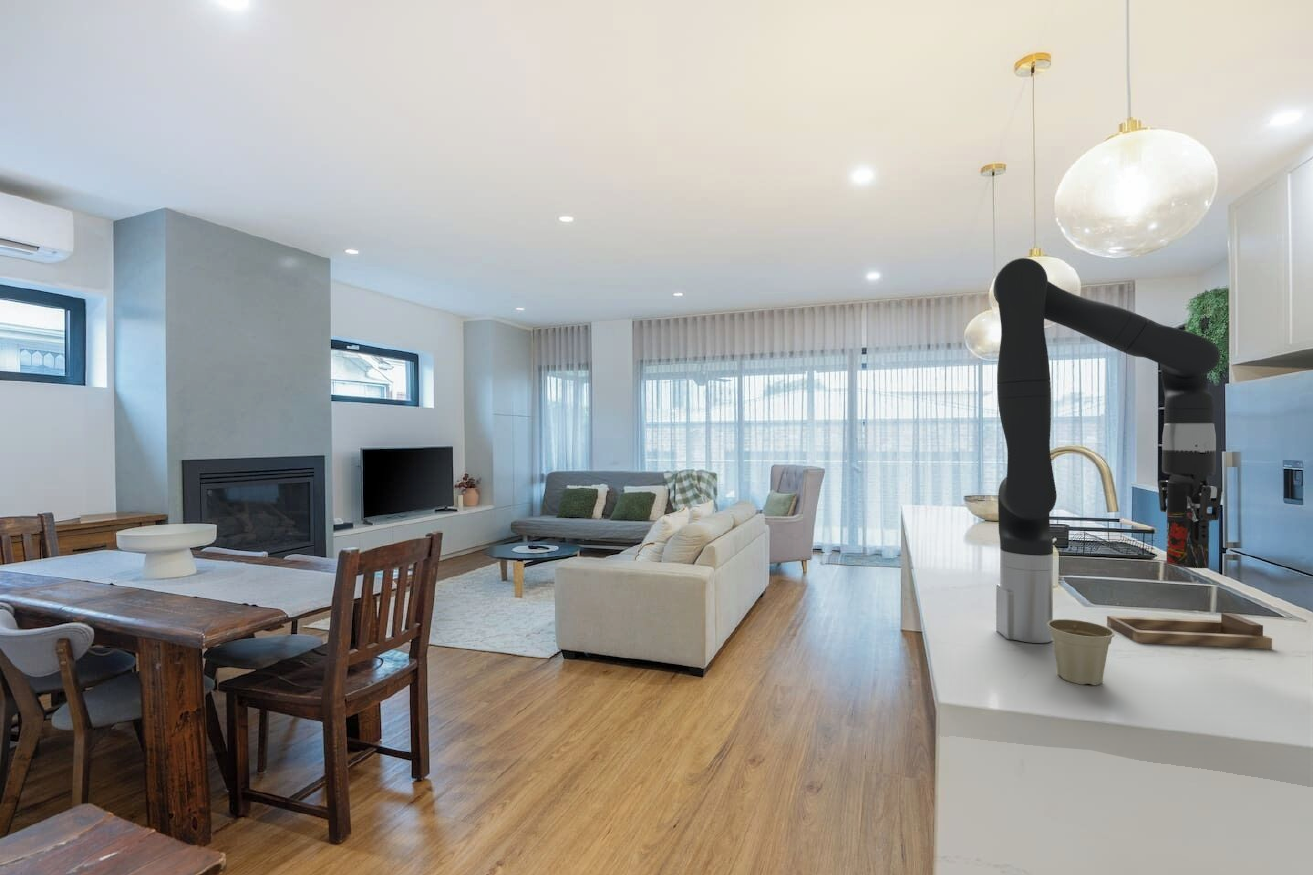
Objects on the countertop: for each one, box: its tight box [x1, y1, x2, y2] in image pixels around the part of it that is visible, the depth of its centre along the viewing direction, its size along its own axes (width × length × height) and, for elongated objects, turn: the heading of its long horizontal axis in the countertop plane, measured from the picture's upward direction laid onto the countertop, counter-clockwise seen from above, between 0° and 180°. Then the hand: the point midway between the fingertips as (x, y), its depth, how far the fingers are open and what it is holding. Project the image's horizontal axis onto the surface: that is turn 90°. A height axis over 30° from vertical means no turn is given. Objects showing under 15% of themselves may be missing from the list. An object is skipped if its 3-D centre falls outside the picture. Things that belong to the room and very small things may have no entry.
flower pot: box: [1047, 618, 1116, 686], centre depth 106 cm, size 9×9×9 cm
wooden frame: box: [1106, 612, 1273, 650], centre depth 127 cm, size 23×11×4 cm, turn 80°
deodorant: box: [1165, 482, 1211, 569], centre depth 116 cm, size 6×6×15 cm
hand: (1187, 539), depth 116 cm, fingers closed on deodorant, 6 cm apart
